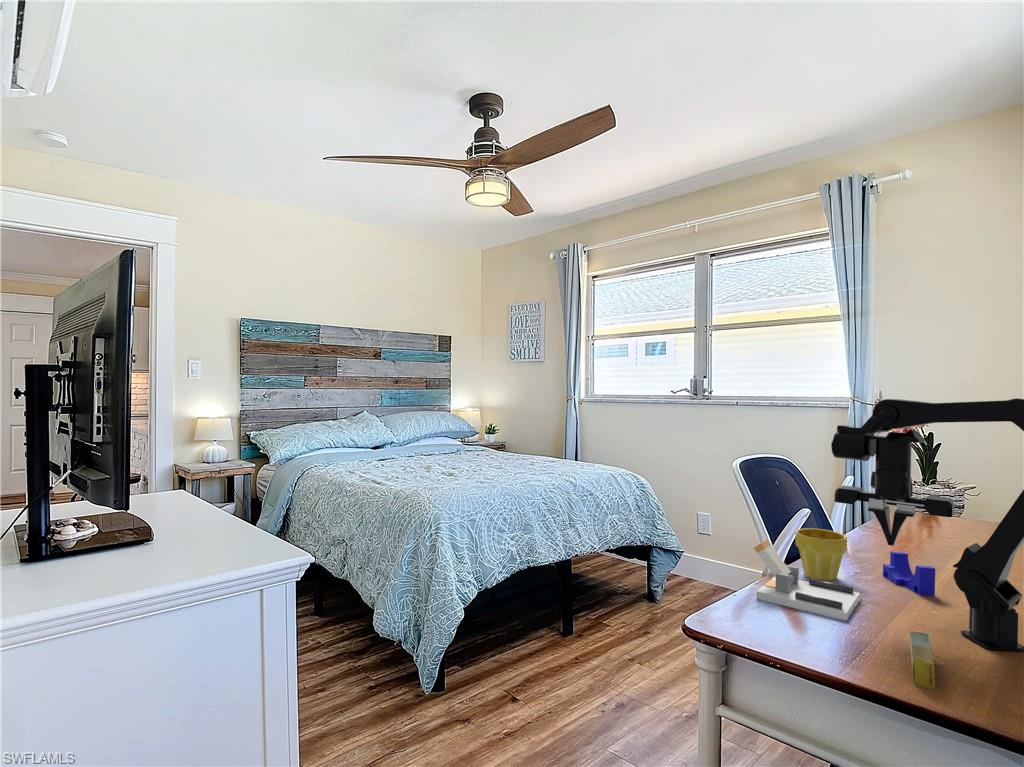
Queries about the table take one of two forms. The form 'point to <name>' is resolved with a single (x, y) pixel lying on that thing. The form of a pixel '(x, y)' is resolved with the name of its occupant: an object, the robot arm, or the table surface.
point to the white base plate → (810, 595)
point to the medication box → (922, 660)
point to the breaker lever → (773, 560)
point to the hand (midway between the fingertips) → (891, 545)
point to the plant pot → (821, 552)
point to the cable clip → (910, 574)
